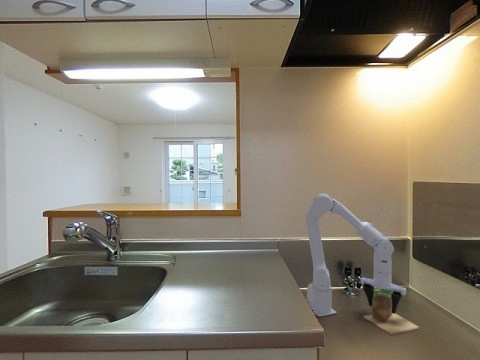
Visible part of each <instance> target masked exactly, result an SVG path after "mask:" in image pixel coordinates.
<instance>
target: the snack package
mask: <svg viewBox="0 0 480 360" xmlns="http://www.w3.org/2000/svg"><path fill="white" fill-rule="evenodd" d="M380 292H382V293H385V294H389V295H391V294H392V293H394V292H392V291H388V290H385V289H379V288H376V287H374V292H373V298H374V297H375V296H376V295H378V294H379V293H380Z"/></svg>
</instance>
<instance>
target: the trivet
mask: <svg viewBox="0 0 480 360" xmlns="http://www.w3.org/2000/svg"><path fill="white" fill-rule="evenodd" d="M363 318H364V319H366V321H367V320H368V322H370V323H372V324H373V325H374V326H377V327H378V328H380V329H382V330H383V331H384V332H386V333H387V334H389V336H394V335H398V334H402V333H406V332H411V331H415V330H419V329H420V326H419V325H416V324H414V322H412V321H409V320H408V319H406V318H404V317H402V316H400V315H398V314H397V313H395V314H393V313H392V315H391V316H390V317H389V318H388V320H387V321H386V322H385V323H384V322H381V321H378V320H375V319H372V313H371V314H366V315H363Z"/></svg>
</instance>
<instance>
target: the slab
mask: <svg viewBox="0 0 480 360" xmlns="http://www.w3.org/2000/svg"><path fill="white" fill-rule="evenodd" d="M371 307H372V309H371V310H372V311H371V312H372V313H371V314H372V319H375V320H378V321H381V322H384V323H385V322H386V321H387V320H388V318H389V317H390V316H391V315H392V297H391V295H389V294H385V293H382V292H380V293H379V294H378V295H376V296H375V297H374V298H373V299H372V306H371Z"/></svg>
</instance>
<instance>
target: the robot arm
mask: <svg viewBox="0 0 480 360" xmlns="http://www.w3.org/2000/svg"><path fill="white" fill-rule="evenodd" d="M328 212H330V213H331V214H336V215H339V216H340V217H341V218H343V220H346V221H347V222H348V223H349V224H350V225H352V226H353V227H354V228H355V234H357V236H359V238H361V239H362V240H363V241H364V242H366V243H367V245H369V246H370V247H372V249H373V279H372V278H368V277H361V278H360V284H361V285H362V290H363V292H364V294H365V295H366V298H367V301H368V306H369V307H372V299H373V292H374V289H375V288H379V289H385V290H388V291H392V292H394V293H392V294H391V297H392V313H393V314H397V309H398V306H399V305H398V304H399V303H400V301H401V298H402V297H403V296H405V295H406V294H407V288H406V287H402V286H400V285H397V284H395V283H392V279H393V277H392V274H393V273H392V268H393V266H392V265H393V264H392V263H393V262H392V261H393V260H392V254H393V253H394V251H395V248H394V245H393V243H392V242H391V241H390V239H388V238H387V237H386V236H385V234H384V233H382V232H380V231H378V230H377V228H375V227H374V226H375V225H374V224H373V223H371V222H370V223H369V222H368V221H361V220H360V219H359V218H358V217H357V216H356V215H354V214H353V213H352V212H351V211H350V210H349V209H348V208H347V207H346V206H344V204H342V203H341V202H339V201H338V200H336V199H335V198H332V197H331V196H330V194H328V193H320V194H318V195H317V196H315V198H314V199H312V201H311V203H310V205H309V207H308V209H307V212H306V214H305V223H306V230H307V235H308V243H309V247H310V252H311V253H310V254H311V259H312V266H313V267H312V268H313V271H312V276H313V277H312V282H311V283H309V284H308V286H307V288H306V302H307V301H308V303H309V305H310V306H311V308H312V310H313V312H314V313H313V312H312V313H313V314H315V315H316V316H317V317H324V316H330V315H335V314H337V311H336V310H334V308H332V301H333V299H332V295H333V294H332V285H331V284H332V281H331V277H330V275H331V273H330V271H329V269H328V267H327V265H326V260H325V254H324V249H323V242H322V237H321V236H322V235H321V230H320V225H319V220H320V219H321V218H322V217H323V216H324V215H325V214H326V213H328Z"/></svg>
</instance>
